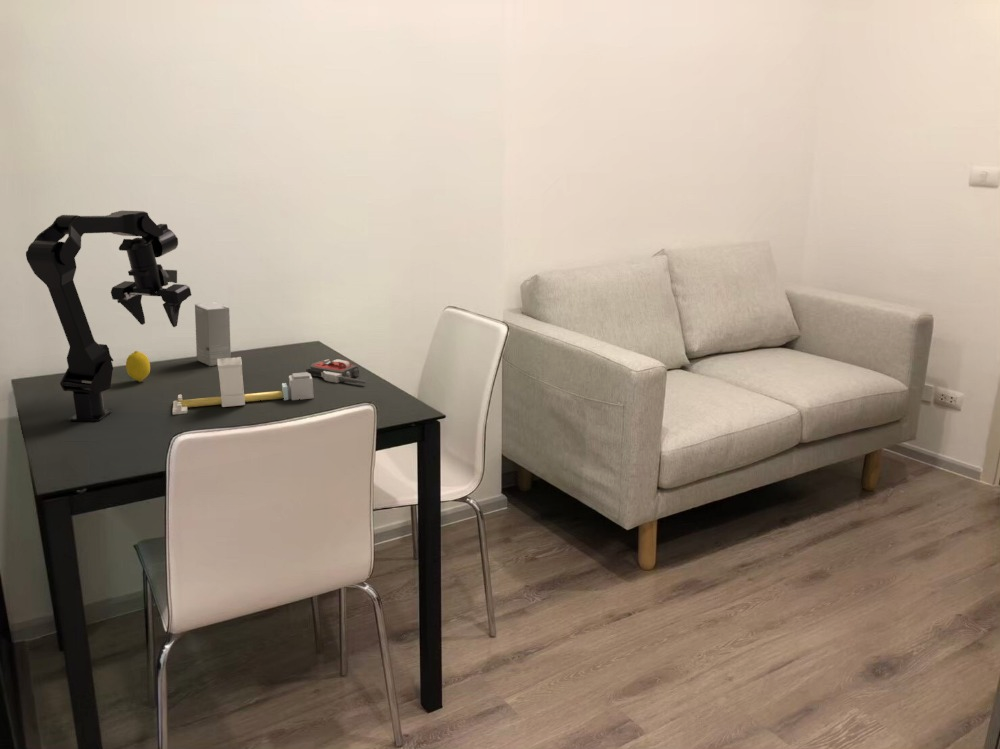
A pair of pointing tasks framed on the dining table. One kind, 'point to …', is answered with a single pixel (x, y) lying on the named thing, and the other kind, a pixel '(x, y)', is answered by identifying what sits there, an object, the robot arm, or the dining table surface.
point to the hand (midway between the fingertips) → (159, 325)
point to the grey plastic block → (298, 387)
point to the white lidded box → (231, 381)
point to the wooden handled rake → (182, 405)
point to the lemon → (138, 366)
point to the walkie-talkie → (335, 371)
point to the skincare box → (212, 332)
